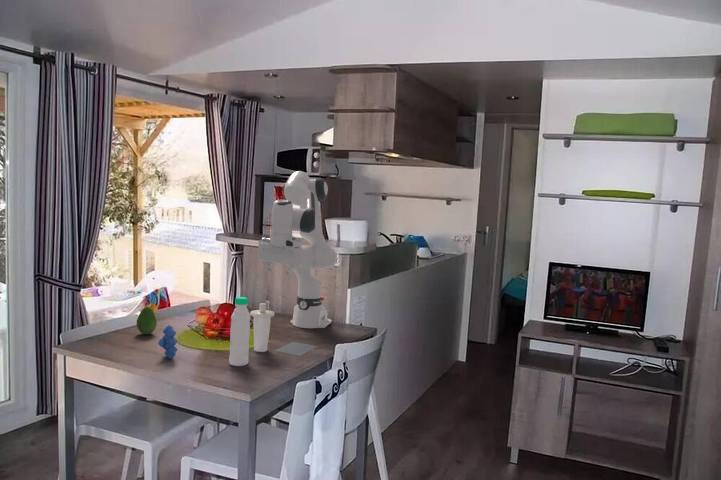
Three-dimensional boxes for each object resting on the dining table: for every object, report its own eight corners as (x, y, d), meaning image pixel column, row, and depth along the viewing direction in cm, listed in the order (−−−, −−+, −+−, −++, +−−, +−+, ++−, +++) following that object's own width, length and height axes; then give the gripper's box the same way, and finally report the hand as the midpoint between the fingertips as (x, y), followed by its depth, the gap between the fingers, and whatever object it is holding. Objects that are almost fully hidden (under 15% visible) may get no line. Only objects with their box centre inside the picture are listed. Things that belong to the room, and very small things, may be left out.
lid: (258, 311, 227) (259, 300, 226) (278, 314, 223) (279, 303, 223) (245, 315, 218) (246, 304, 217) (266, 318, 214) (266, 307, 214)
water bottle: (230, 367, 200) (234, 299, 198) (227, 361, 206) (230, 295, 204) (250, 366, 202) (253, 299, 200) (246, 360, 209) (249, 295, 207)
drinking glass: (265, 354, 218) (267, 317, 216) (249, 352, 219) (251, 315, 218) (271, 350, 224) (273, 314, 223) (255, 348, 226) (257, 312, 224)
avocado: (156, 331, 240) (157, 304, 239) (155, 336, 233) (156, 308, 232) (136, 332, 237) (137, 304, 236) (135, 336, 230) (136, 308, 229)
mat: (293, 343, 236) (293, 341, 236) (318, 347, 232) (318, 346, 232) (273, 352, 222) (273, 350, 222) (299, 357, 217) (299, 355, 217)
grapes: (153, 354, 208) (154, 323, 207) (171, 352, 212) (172, 322, 211) (161, 363, 199) (162, 330, 198) (180, 361, 203) (181, 329, 202)
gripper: (254, 237, 222) (253, 271, 224) (298, 243, 215) (296, 278, 216) (263, 236, 228) (261, 269, 230) (306, 242, 220) (304, 276, 222)
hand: (278, 273), depth 223 cm, fingers open, 8 cm apart
